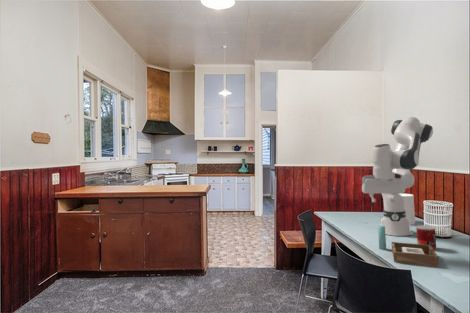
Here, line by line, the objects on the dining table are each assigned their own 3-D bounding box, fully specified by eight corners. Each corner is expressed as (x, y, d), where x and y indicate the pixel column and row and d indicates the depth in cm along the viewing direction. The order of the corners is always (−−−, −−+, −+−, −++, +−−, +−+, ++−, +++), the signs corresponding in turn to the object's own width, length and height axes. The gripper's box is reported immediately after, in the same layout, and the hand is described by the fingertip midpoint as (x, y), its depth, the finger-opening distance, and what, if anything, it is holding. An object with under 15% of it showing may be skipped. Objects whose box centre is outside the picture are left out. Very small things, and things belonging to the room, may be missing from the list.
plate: (402, 254, 128) (401, 246, 128) (422, 256, 125) (421, 248, 125) (403, 259, 121) (403, 252, 121) (425, 262, 117) (424, 254, 118)
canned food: (430, 252, 131) (429, 229, 131) (414, 247, 138) (412, 226, 138) (440, 249, 134) (438, 227, 134) (423, 245, 141) (422, 224, 142)
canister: (414, 226, 180) (412, 196, 181) (387, 223, 190) (385, 195, 190) (415, 221, 193) (414, 193, 193) (390, 219, 202) (389, 193, 203)
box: (392, 251, 134) (391, 241, 134) (431, 255, 126) (430, 245, 126) (394, 263, 119) (393, 252, 120) (438, 268, 112) (437, 256, 112)
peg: (379, 248, 139) (377, 225, 140) (386, 249, 138) (384, 225, 138) (379, 250, 137) (378, 226, 137) (386, 251, 135) (385, 227, 135)
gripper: (364, 175, 136) (364, 203, 135) (406, 175, 134) (407, 202, 133) (359, 175, 142) (360, 201, 142) (399, 174, 140) (400, 201, 140)
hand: (383, 202), depth 137 cm, fingers open, 8 cm apart
